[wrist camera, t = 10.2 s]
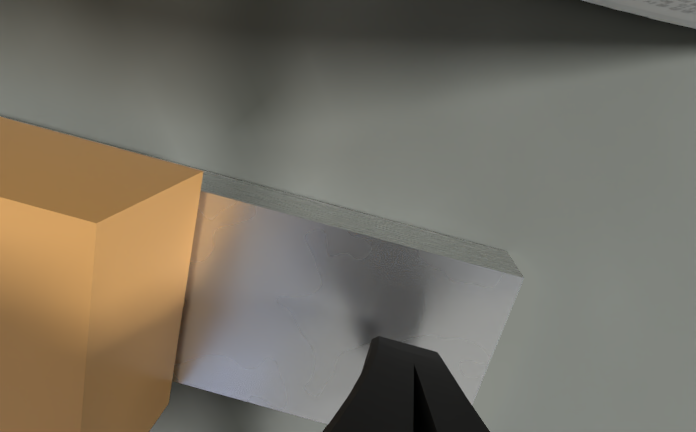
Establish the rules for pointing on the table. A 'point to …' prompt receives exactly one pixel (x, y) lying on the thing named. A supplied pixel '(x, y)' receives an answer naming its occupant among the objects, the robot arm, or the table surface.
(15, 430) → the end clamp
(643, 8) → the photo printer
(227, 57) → the table surface
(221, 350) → the mounting rail
